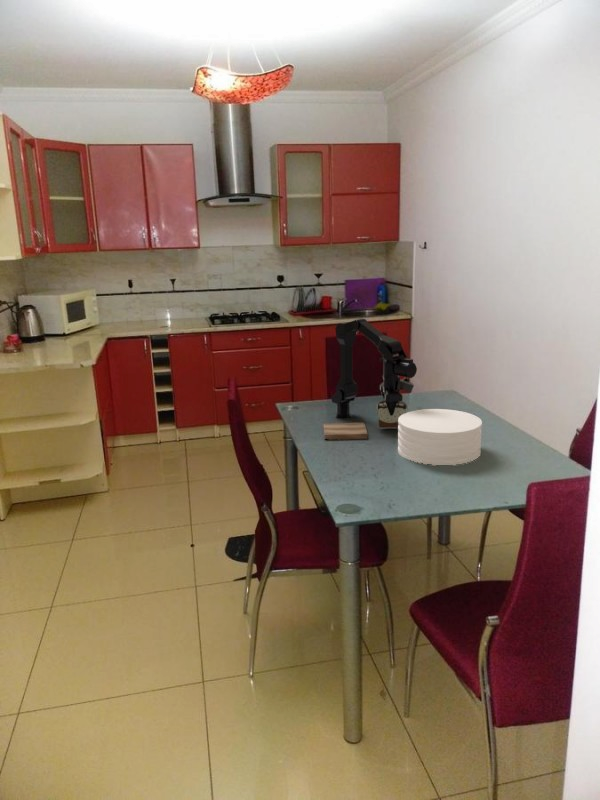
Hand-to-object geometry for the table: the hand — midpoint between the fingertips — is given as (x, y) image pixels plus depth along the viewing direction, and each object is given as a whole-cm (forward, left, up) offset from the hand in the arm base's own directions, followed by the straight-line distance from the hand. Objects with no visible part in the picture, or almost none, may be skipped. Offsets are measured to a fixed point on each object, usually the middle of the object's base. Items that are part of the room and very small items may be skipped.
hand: (390, 413), depth 229 cm
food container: (-2, 0, -5) cm, 6 cm away
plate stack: (+25, +13, -7) cm, 29 cm away
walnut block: (+3, -18, -7) cm, 19 cm away
